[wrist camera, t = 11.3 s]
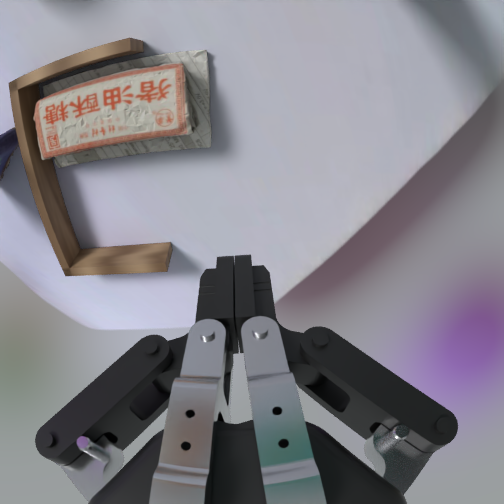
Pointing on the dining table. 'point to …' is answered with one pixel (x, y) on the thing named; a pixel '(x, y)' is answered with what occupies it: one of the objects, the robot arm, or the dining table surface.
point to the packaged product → (126, 109)
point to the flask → (7, 148)
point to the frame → (47, 185)
